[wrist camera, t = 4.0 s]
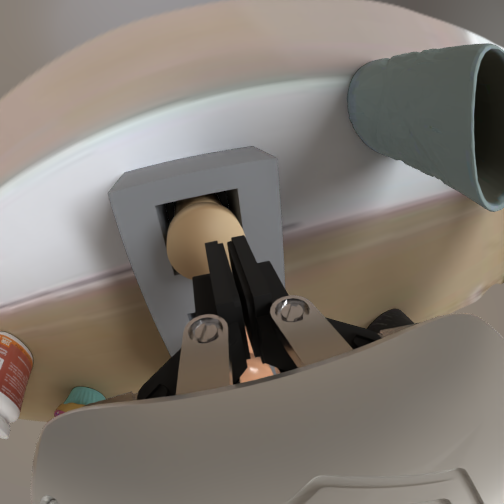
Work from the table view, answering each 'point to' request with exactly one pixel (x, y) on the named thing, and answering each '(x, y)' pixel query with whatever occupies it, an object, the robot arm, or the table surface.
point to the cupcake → (79, 399)
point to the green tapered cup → (438, 115)
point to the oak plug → (199, 233)
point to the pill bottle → (12, 379)
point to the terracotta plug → (255, 367)
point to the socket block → (157, 223)
